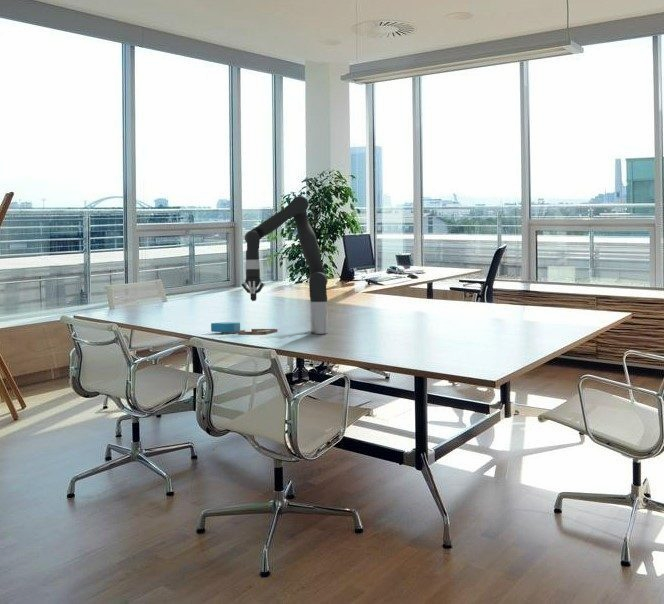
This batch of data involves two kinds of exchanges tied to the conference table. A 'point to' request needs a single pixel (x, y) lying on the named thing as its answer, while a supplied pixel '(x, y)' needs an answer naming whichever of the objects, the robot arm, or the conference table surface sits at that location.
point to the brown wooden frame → (254, 332)
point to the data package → (225, 327)
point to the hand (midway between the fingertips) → (253, 300)
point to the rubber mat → (232, 332)
